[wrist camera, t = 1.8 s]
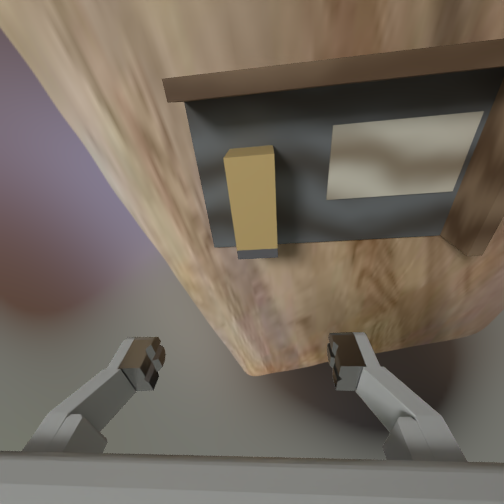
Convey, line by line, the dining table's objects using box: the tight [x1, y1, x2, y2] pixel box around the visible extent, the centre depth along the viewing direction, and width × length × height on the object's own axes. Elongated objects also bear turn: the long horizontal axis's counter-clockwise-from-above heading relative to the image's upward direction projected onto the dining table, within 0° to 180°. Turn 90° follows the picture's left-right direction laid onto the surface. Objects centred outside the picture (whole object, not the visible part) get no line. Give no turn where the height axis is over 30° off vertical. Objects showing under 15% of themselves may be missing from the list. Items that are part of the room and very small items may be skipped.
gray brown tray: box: [162, 39, 504, 256], centre depth 23 cm, size 18×30×5 cm, turn 95°
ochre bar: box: [223, 145, 278, 259], centre depth 25 cm, size 11×4×4 cm, turn 5°
